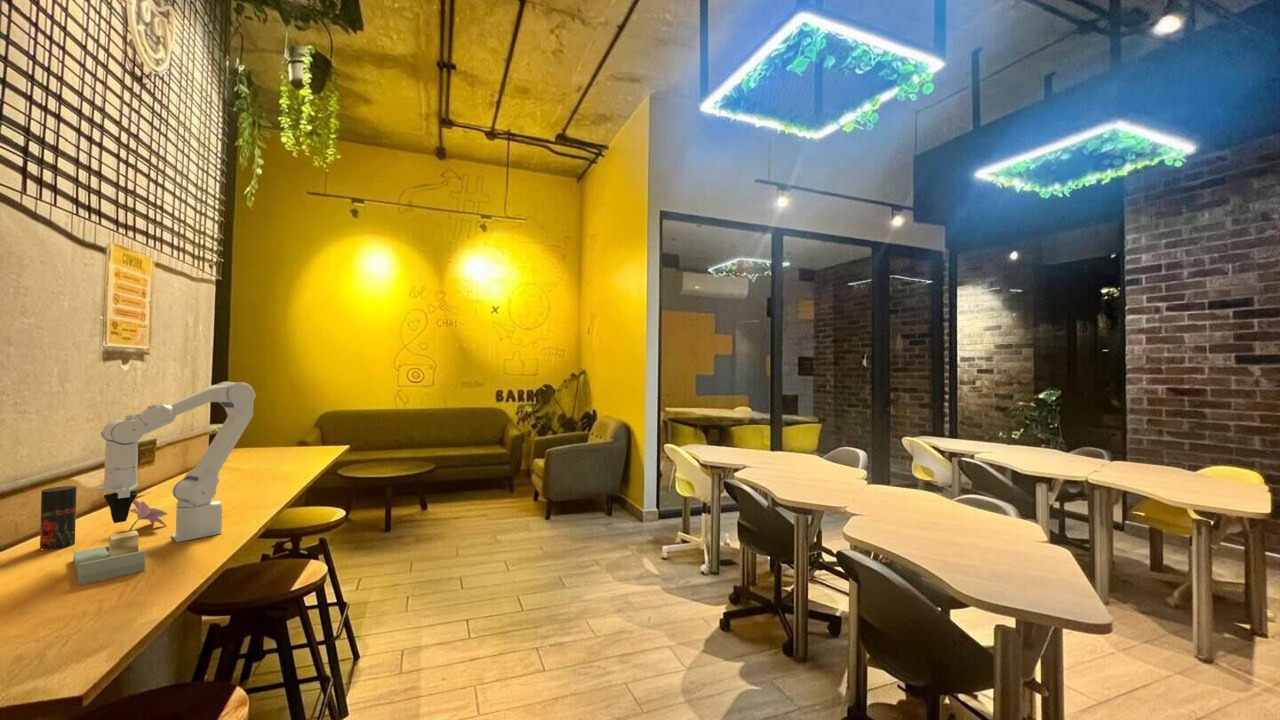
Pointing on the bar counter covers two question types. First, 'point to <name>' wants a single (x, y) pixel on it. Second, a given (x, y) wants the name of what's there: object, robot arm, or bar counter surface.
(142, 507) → the lily
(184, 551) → the bar counter surface
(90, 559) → the board
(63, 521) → the deodorant
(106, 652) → the bar counter surface
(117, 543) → the beech block
